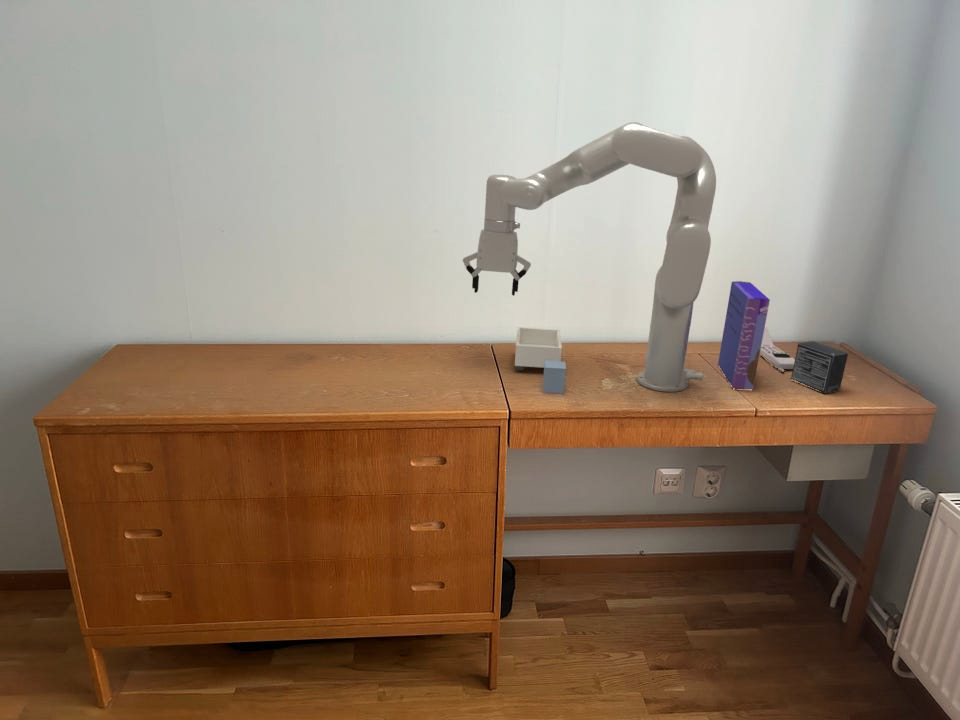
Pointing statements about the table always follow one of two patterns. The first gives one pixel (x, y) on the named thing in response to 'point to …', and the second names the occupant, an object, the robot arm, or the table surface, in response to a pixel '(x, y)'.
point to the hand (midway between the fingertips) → (494, 292)
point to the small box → (819, 366)
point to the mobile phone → (775, 353)
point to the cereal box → (743, 334)
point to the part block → (554, 377)
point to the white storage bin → (537, 347)
